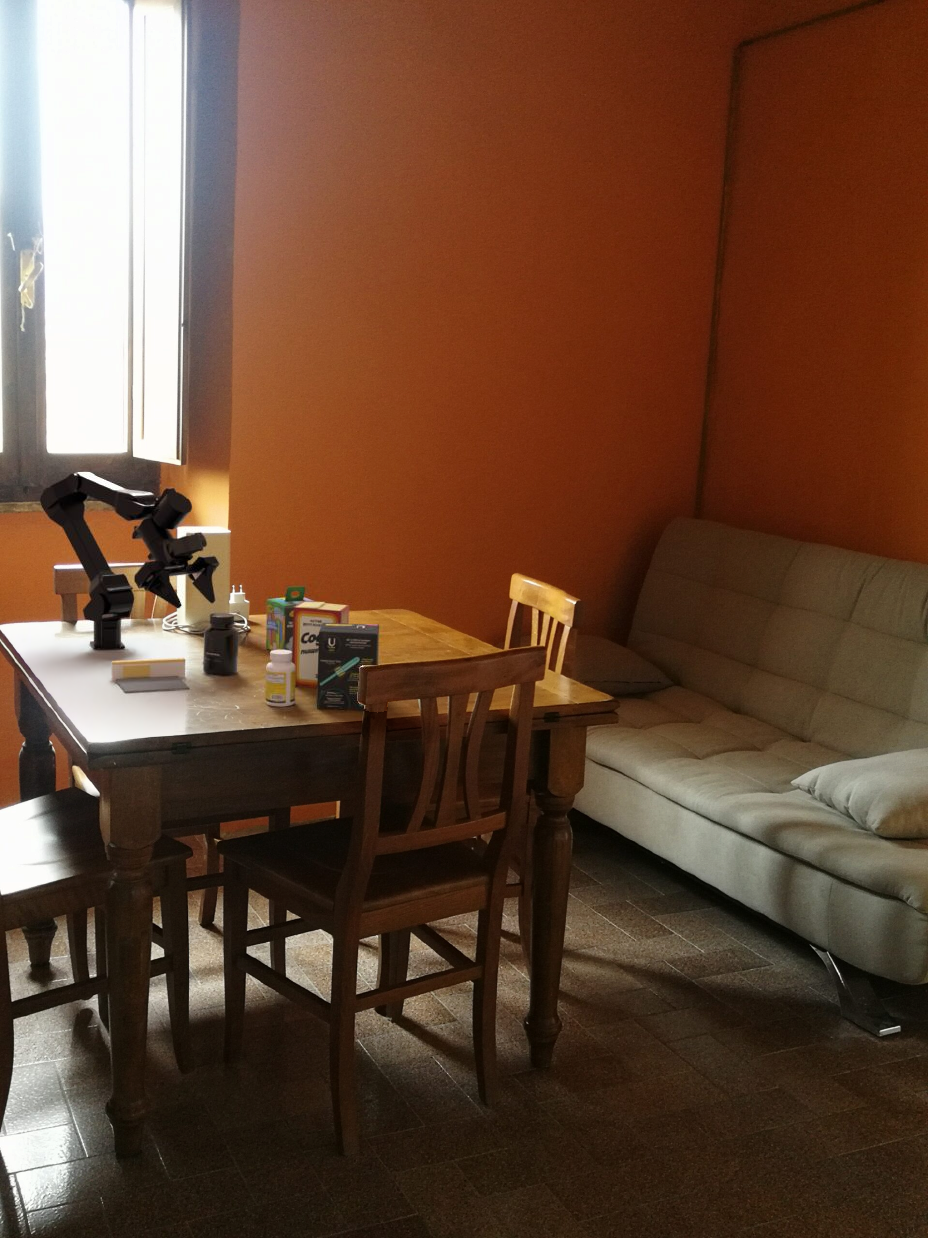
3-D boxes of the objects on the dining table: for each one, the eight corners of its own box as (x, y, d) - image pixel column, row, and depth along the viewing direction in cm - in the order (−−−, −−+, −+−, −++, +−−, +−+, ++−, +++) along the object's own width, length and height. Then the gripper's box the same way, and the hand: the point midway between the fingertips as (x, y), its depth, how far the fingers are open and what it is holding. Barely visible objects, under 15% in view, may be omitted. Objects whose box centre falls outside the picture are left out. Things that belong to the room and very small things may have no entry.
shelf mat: (115, 680, 228) (115, 678, 228) (178, 677, 233) (178, 675, 233) (125, 693, 219) (125, 691, 219) (189, 689, 225) (189, 687, 225)
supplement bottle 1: (204, 677, 235) (205, 617, 233) (202, 669, 241) (203, 611, 239) (239, 676, 237) (240, 617, 235) (236, 668, 243) (237, 611, 241)
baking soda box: (346, 682, 237) (349, 603, 235) (338, 689, 231) (341, 609, 228) (300, 678, 239) (302, 600, 236) (291, 685, 232) (293, 605, 229)
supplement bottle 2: (286, 698, 222) (287, 647, 220) (300, 705, 218) (301, 653, 216) (260, 701, 219) (261, 649, 217) (273, 708, 214) (275, 655, 213)
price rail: (111, 678, 230) (111, 660, 229) (183, 674, 236) (183, 657, 235) (112, 680, 228) (112, 662, 227) (185, 676, 234) (185, 659, 234)
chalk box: (300, 645, 269) (302, 581, 267) (320, 653, 262) (322, 587, 260) (264, 648, 264) (265, 583, 261) (283, 657, 257) (285, 589, 254)
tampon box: (377, 698, 226) (380, 623, 223) (375, 711, 217) (379, 633, 214) (319, 696, 225) (321, 620, 222) (315, 708, 216) (318, 630, 213)
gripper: (145, 521, 232) (182, 585, 228) (214, 517, 247) (251, 577, 243) (117, 555, 238) (153, 618, 234) (187, 549, 253) (222, 608, 249)
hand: (197, 604), depth 240 cm, fingers open, 9 cm apart
